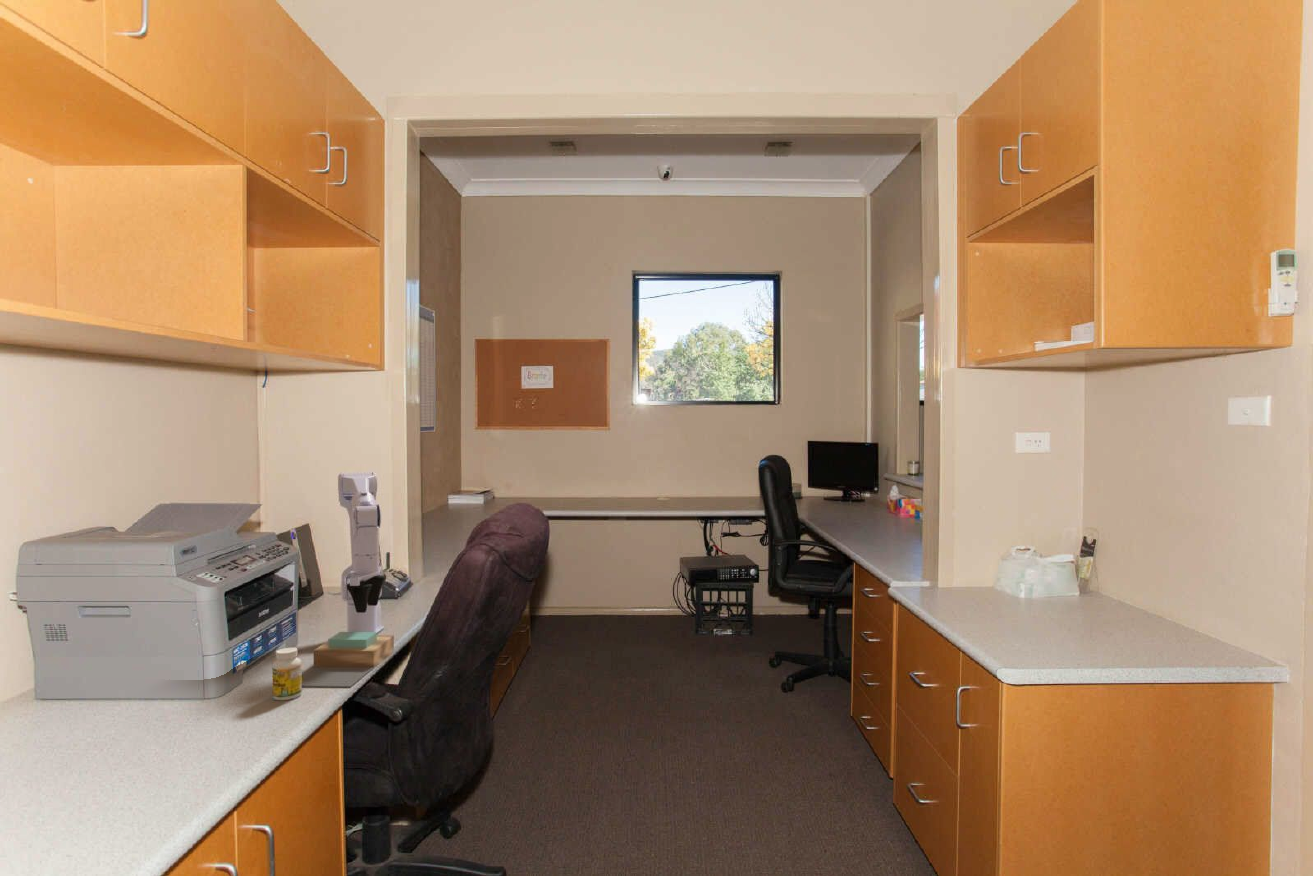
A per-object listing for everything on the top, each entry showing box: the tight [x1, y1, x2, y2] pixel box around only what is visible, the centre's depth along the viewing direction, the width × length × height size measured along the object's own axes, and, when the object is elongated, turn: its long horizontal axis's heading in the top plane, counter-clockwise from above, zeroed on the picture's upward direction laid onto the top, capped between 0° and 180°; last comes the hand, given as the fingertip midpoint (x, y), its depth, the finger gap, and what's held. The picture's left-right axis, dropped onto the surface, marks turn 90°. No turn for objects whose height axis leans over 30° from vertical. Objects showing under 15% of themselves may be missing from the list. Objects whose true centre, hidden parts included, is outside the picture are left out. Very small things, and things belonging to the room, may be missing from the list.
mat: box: [302, 665, 375, 689], centre depth 162 cm, size 12×14×1 cm
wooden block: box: [313, 634, 395, 669], centre depth 174 cm, size 12×14×4 cm
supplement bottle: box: [271, 647, 303, 701], centre depth 151 cm, size 5×5×10 cm
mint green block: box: [327, 631, 378, 648], centre depth 172 cm, size 6×9×2 cm, turn 89°
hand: (367, 608), depth 180 cm, fingers open, 6 cm apart
